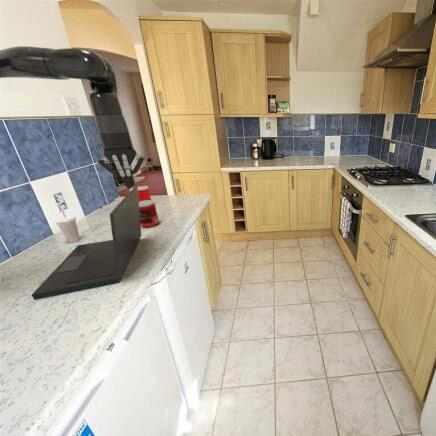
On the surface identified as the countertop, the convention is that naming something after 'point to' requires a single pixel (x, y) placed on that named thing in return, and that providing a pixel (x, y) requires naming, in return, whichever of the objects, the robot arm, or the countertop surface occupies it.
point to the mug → (143, 193)
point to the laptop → (82, 270)
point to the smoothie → (68, 227)
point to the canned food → (148, 214)
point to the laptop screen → (125, 229)
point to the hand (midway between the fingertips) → (130, 187)
